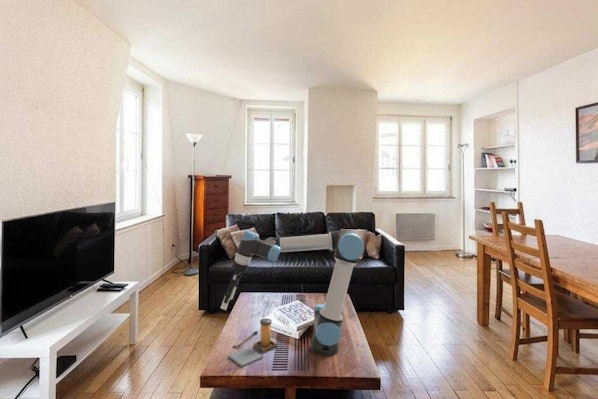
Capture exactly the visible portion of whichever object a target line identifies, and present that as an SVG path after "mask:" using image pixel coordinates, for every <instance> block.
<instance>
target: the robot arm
mask: <svg viewBox="0 0 598 399" xmlns="http://www.w3.org/2000/svg"><path fill="white" fill-rule="evenodd" d="M364 249H365V244H364V241H363V239H362V238H361V236H360V235H359V234H358V233H356V232H355V231H353V230H351V229H342V230H334V231H329V232H328V233H325V234H320V233H319V234H310V235H309V234H307V235H301V236H300V235H298V236H283V237H271V236H270V237H267V238H266V239H264V240H262V239H260V234H259V233H257V232H255V231H252V230H245V231H244V232H243V235H242V236H241V238H240V241H239V245H238V248H237V250H236V252H235V253H234V260H233V261H232V265H231V269H232V270H233V273H232V274H231V278H230V280H229V281H230V282H229V284H228V286H227V289H226V291H225V293H223V296H224V297H223V299H222V302H221V306H220V309H222V310H224V311H227V309H228V306H229V303H230V300H231V301H233V299H234V296H235V294H236V290H237V288H239V287H240V285H239V282H240V279H241V278H242V274H245V273H247V271H248V269H249V265H250V264H251V260H252V259H253V255H256V256H259V257H261V258H263V259H267V260H268V261H271V262H277V261H278V258H279V256H280V253H287V252H301V251H312V250H315V251H316V250H330V251H334V254H333V257H334V260H335V264H334V267H333V272H332V274H331V279H330V283H329V287H328V290H327V293H326V294H327V295H326V298H325V302H324V303H318V304H315V306H314V307H313V308H314V309H313V315H314V316H313V334H312V337H311V341H310V345H309V348H310V351H311V352H312V353H314V354H316V355H319V356H334V355H336V354H338V352H339V351H340V344H339V341H340V340H341V337H342V331H341V330H342V324H343V320H344V317H343V315H342V311H343V307H344V304H345V300H346V296H347V292H348V289H349V284H350V282H351V277H352V274H353V269H354V267H355V266H356V265H358V263H359V261H360V260H359V259H360V257H362V255H363V253H364Z"/></svg>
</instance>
